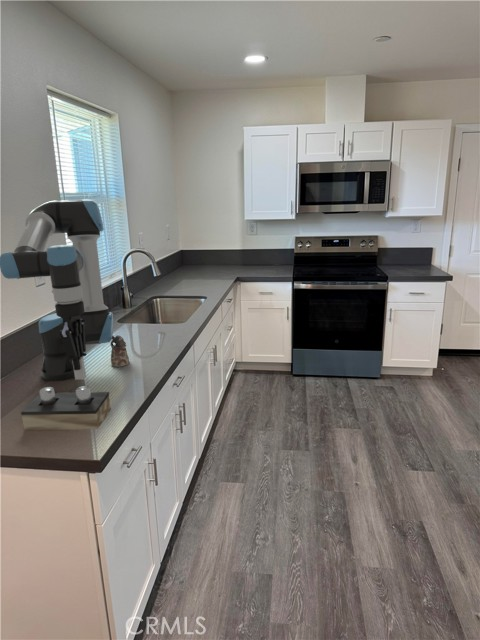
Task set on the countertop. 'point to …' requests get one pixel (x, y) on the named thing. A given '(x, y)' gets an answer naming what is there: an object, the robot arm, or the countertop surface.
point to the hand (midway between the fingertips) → (80, 378)
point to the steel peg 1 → (47, 396)
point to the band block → (66, 412)
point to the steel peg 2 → (83, 395)
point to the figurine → (119, 352)
